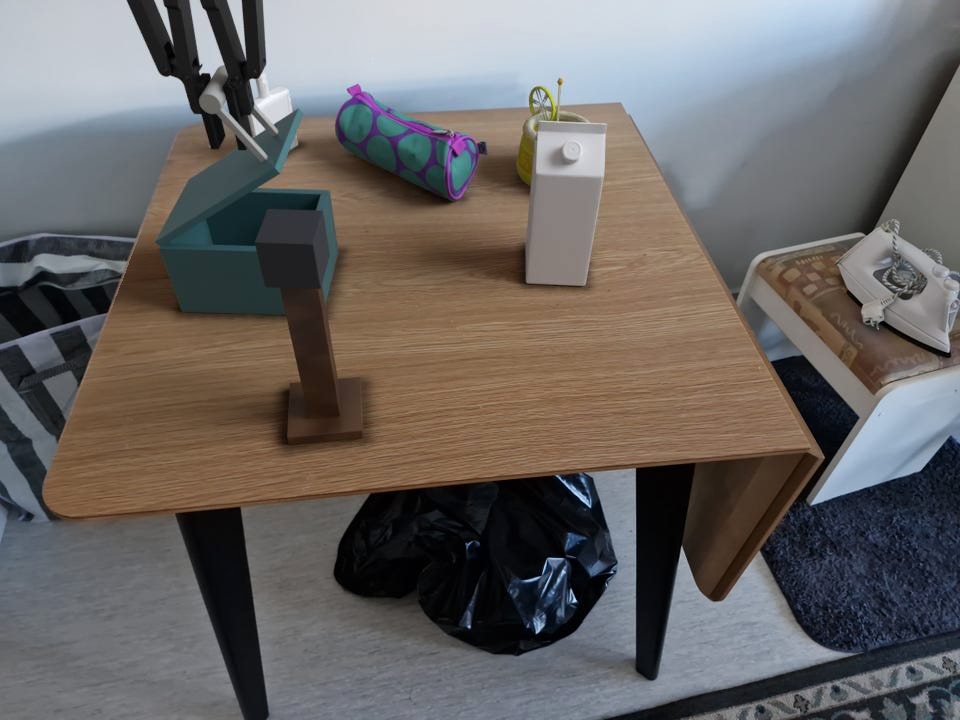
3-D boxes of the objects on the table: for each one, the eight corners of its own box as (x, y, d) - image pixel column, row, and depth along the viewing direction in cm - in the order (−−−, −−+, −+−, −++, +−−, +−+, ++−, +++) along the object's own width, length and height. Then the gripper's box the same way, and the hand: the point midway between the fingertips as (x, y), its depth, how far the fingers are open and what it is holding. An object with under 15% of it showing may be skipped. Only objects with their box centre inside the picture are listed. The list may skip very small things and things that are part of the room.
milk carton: (525, 248, 91) (538, 104, 77) (581, 250, 91) (604, 107, 77) (525, 284, 86) (539, 138, 72) (585, 287, 86) (610, 141, 72)
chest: (338, 252, 89) (329, 189, 83) (322, 316, 81) (311, 252, 75) (210, 248, 89) (192, 185, 83) (181, 312, 81) (158, 248, 75)
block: (321, 289, 57) (313, 244, 54) (265, 287, 57) (254, 242, 54) (330, 254, 60) (323, 210, 57) (277, 253, 60) (267, 208, 57)
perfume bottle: (262, 169, 102) (244, 87, 93) (251, 165, 103) (233, 83, 94) (299, 145, 107) (286, 65, 98) (289, 141, 108) (275, 61, 99)
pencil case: (486, 185, 101) (489, 121, 94) (447, 214, 96) (447, 148, 89) (375, 138, 109) (370, 75, 102) (333, 162, 104) (325, 98, 97)
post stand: (288, 445, 69) (250, 302, 56) (291, 390, 73) (257, 247, 60) (363, 438, 69) (342, 295, 56) (361, 384, 74) (341, 242, 61)
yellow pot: (596, 200, 99) (609, 118, 90) (516, 198, 99) (522, 115, 90) (588, 152, 108) (600, 73, 99) (515, 149, 108) (520, 70, 99)
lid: (303, 113, 76) (243, 41, 71) (280, 173, 68) (210, 97, 63) (193, 184, 83) (131, 123, 78) (160, 247, 75) (87, 183, 69)
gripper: (270, -145, 58) (313, 126, 75) (83, -150, 58) (168, 122, 75) (248, -121, 53) (299, 164, 70) (42, -127, 53) (144, 160, 70)
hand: (232, 142), depth 72 cm, fingers closed on lid, 2 cm apart
